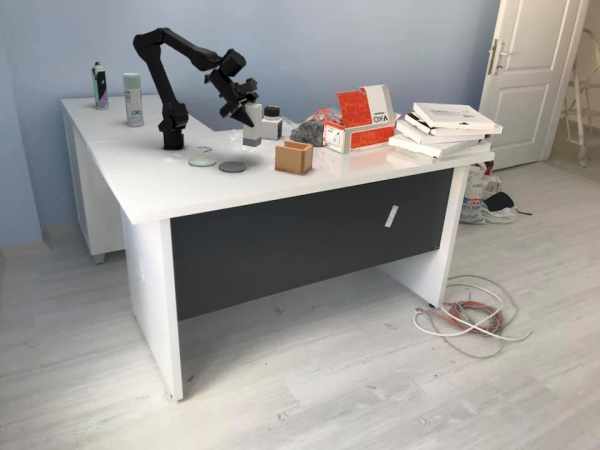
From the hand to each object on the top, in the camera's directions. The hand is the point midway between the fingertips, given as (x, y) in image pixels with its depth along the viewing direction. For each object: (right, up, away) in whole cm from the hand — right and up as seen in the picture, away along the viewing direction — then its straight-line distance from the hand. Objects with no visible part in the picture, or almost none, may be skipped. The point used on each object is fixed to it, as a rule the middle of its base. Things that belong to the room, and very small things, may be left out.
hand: (256, 125), depth 161 cm
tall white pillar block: (-2, -6, +3) cm, 7 cm away
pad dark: (-8, -14, +1) cm, 16 cm away
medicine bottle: (+3, +2, +36) cm, 37 cm away
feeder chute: (+12, -14, +4) cm, 19 cm away
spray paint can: (-52, +8, +41) cm, 67 cm away
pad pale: (-18, -11, +4) cm, 22 cm away
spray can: (-74, +20, +62) cm, 99 cm away
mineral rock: (+18, -1, +32) cm, 36 cm away
